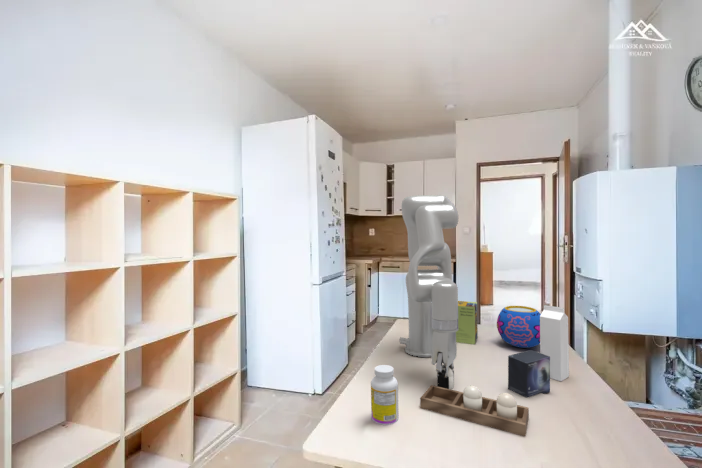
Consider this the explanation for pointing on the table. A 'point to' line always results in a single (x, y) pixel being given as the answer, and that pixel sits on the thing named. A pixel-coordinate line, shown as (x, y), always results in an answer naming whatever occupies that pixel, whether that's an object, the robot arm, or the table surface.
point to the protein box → (467, 322)
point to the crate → (453, 406)
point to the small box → (529, 373)
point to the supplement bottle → (384, 396)
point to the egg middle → (472, 398)
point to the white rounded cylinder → (450, 378)
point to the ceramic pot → (519, 326)
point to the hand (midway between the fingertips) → (445, 385)
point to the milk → (555, 341)
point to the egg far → (507, 406)
